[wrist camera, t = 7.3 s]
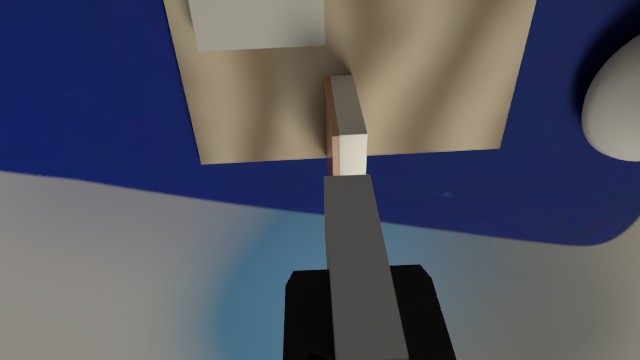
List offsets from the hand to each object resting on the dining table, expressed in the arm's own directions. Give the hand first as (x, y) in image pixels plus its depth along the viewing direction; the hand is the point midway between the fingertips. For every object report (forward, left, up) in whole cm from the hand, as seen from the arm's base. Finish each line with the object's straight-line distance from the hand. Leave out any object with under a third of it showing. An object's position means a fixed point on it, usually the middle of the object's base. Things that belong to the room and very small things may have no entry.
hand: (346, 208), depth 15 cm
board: (+2, -2, -19) cm, 19 cm away
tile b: (+1, -7, -19) cm, 20 cm away
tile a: (0, +3, -18) cm, 18 cm away
